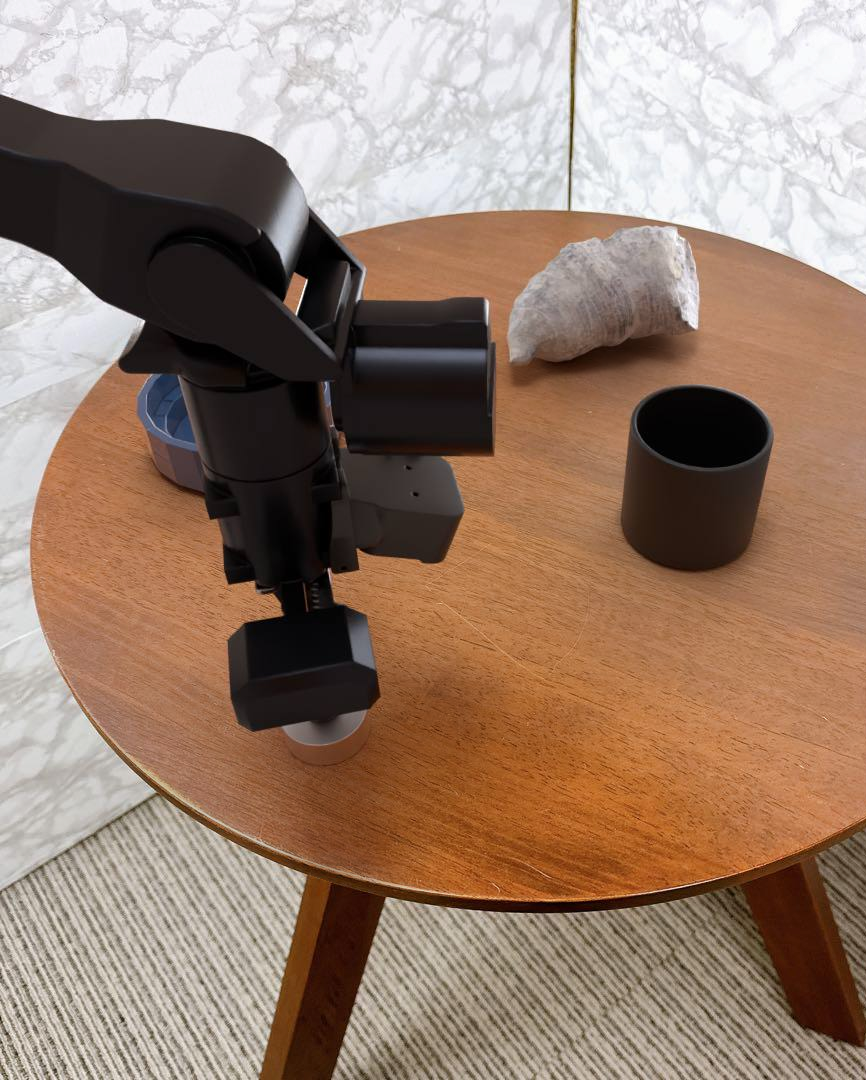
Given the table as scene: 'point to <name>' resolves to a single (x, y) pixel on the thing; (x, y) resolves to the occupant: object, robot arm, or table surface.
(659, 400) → the black cup
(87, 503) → the table surface
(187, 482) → the bowl
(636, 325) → the seashell
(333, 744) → the paper towel holder
